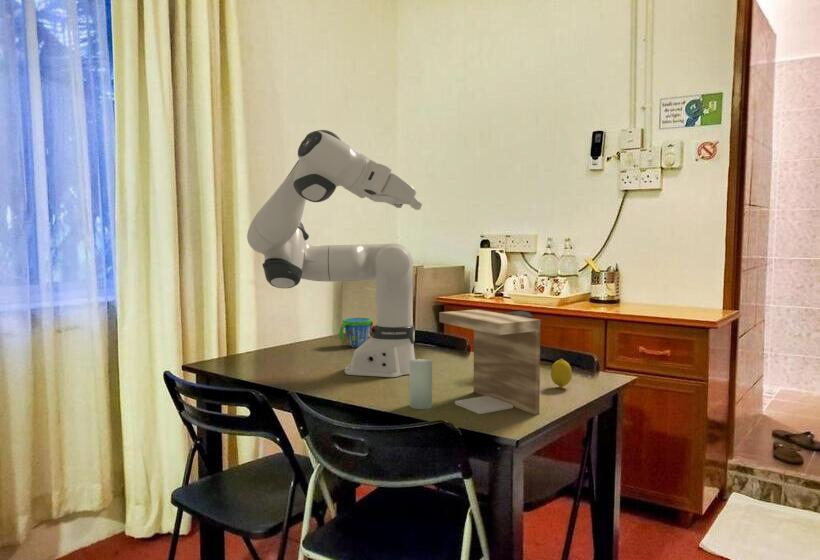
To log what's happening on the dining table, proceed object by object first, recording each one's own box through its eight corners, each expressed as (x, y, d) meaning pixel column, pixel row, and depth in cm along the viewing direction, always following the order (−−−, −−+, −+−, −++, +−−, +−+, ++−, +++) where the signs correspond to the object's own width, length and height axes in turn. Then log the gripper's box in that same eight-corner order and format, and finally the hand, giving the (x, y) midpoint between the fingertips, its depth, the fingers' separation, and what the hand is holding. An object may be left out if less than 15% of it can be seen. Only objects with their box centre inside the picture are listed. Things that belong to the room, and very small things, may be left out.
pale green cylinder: (408, 409, 146) (408, 363, 145) (410, 402, 152) (410, 359, 151) (431, 409, 146) (431, 363, 145) (432, 403, 151) (432, 359, 150)
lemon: (567, 391, 162) (568, 361, 161) (547, 388, 165) (548, 359, 164) (574, 387, 167) (574, 358, 166) (554, 384, 170) (554, 356, 169)
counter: (498, 422, 135) (499, 323, 134) (439, 397, 156) (439, 312, 155) (539, 413, 141) (540, 319, 140) (477, 391, 162) (477, 309, 161)
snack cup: (347, 350, 222) (347, 322, 221) (332, 346, 230) (331, 319, 229) (382, 345, 231) (382, 318, 231) (366, 341, 240) (366, 316, 239)
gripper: (341, 189, 151) (385, 215, 158) (377, 191, 133) (424, 220, 140) (352, 166, 152) (396, 193, 158) (389, 165, 134) (436, 196, 141)
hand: (410, 206), depth 149 cm, fingers open, 8 cm apart
